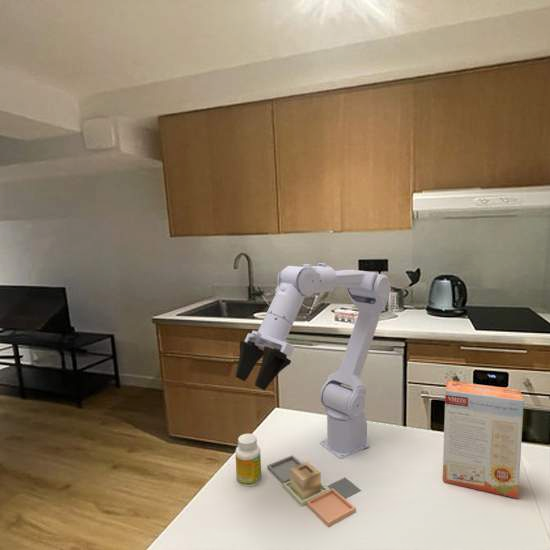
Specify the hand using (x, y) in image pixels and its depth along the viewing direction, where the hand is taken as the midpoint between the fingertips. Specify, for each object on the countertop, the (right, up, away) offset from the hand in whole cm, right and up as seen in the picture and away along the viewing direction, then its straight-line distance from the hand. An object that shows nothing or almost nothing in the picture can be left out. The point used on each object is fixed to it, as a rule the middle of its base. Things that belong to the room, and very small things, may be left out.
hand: (249, 383), depth 76 cm
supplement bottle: (-1, -24, +11) cm, 27 cm away
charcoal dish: (+8, -24, +13) cm, 28 cm away
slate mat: (+19, -24, +7) cm, 32 cm away
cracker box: (+48, -23, +8) cm, 54 cm away
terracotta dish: (+16, -25, +2) cm, 30 cm away
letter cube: (+11, -24, +7) cm, 27 cm away
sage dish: (+11, -24, +7) cm, 28 cm away
